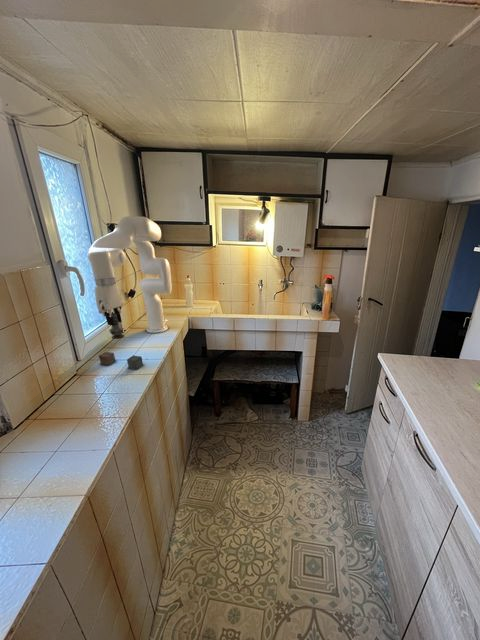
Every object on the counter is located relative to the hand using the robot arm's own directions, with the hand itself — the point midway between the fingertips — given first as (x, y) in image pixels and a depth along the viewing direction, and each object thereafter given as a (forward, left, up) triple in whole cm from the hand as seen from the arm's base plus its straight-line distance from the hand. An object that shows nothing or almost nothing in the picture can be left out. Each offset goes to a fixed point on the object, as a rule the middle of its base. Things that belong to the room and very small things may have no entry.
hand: (114, 323), depth 124 cm
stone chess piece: (0, 0, -7) cm, 7 cm away
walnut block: (+1, -8, -20) cm, 22 cm away
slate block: (+1, +7, -20) cm, 22 cm away
